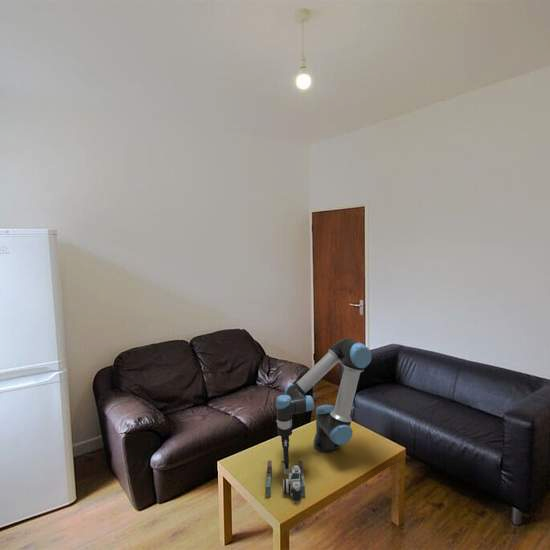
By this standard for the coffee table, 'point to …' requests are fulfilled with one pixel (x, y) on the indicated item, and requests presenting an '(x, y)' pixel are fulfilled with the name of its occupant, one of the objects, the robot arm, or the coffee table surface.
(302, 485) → the rail
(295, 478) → the camera
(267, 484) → the rail
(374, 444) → the coffee table surface
